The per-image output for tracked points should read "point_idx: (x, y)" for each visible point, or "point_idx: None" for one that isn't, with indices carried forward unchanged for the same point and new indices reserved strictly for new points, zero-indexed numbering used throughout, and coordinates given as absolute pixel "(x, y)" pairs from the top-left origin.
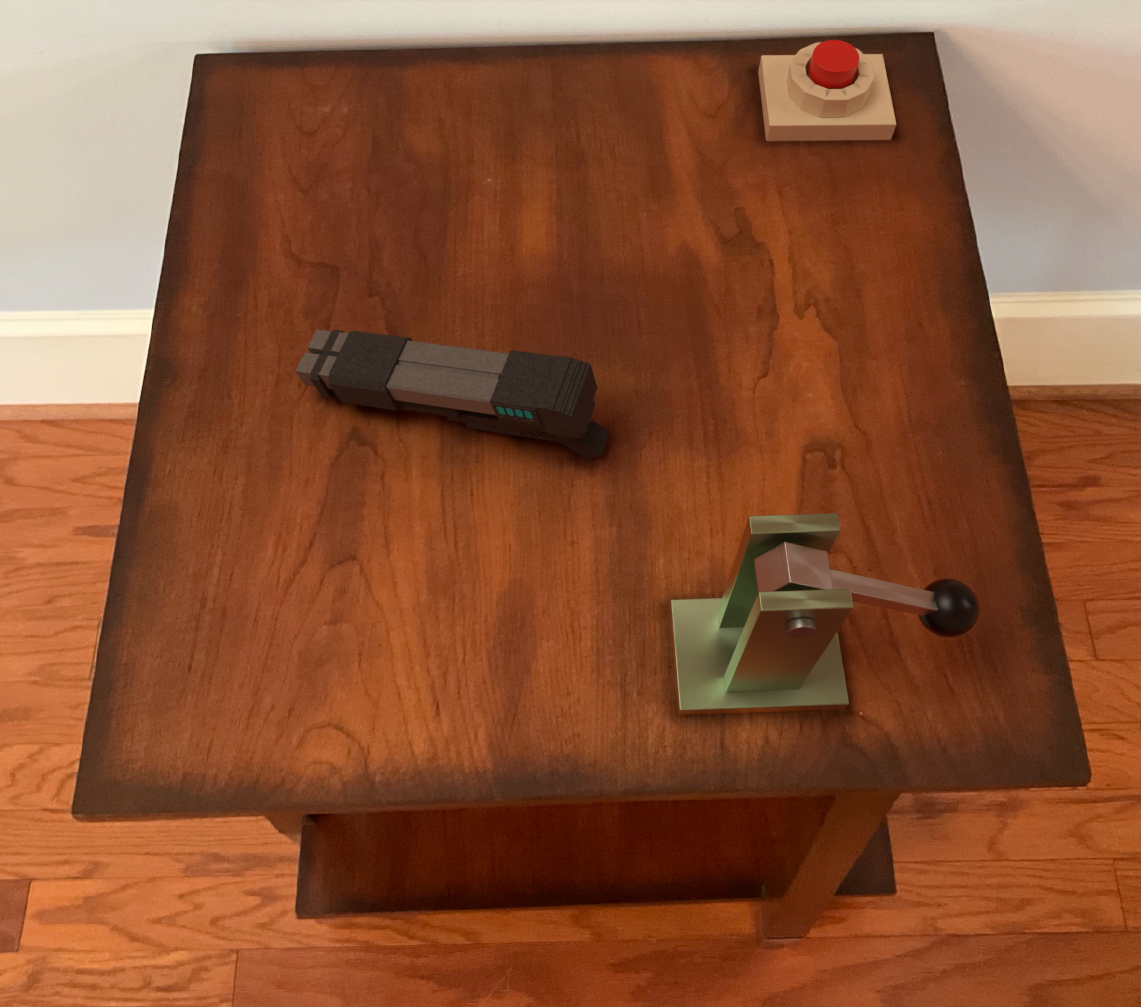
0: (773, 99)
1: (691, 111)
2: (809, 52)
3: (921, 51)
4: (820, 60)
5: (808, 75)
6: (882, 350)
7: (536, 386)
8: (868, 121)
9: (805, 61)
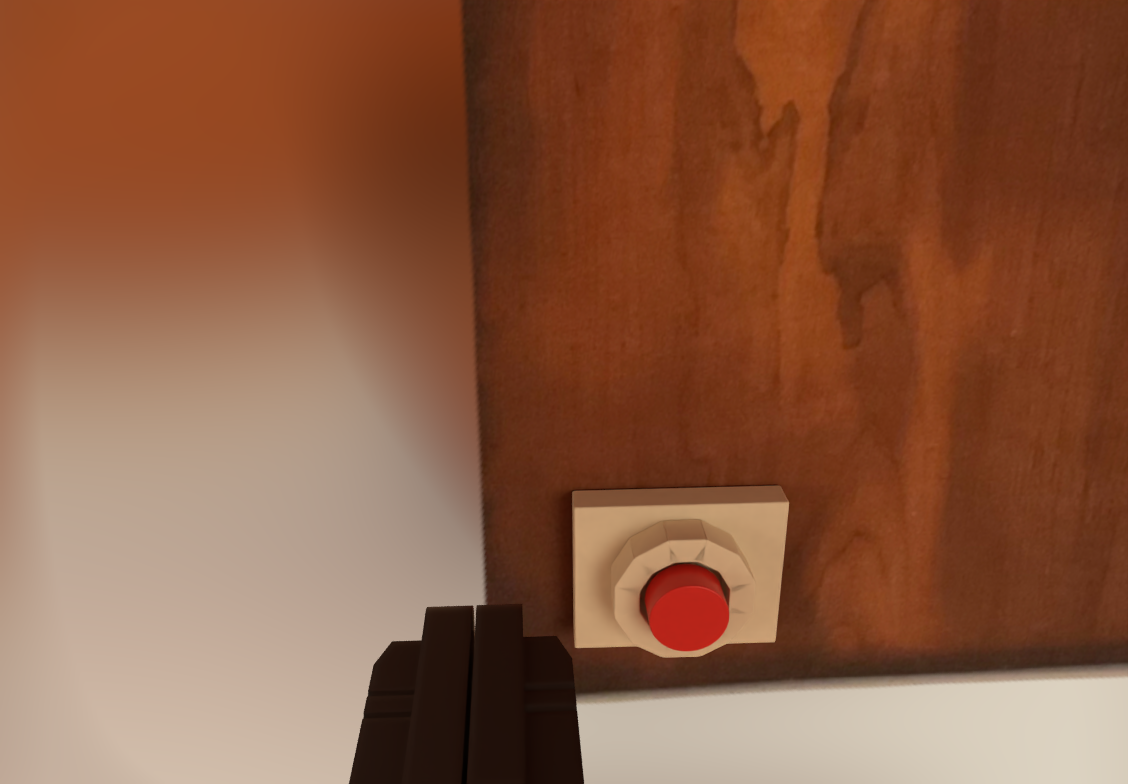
0: (772, 555)
1: (889, 543)
2: None
3: None
4: (718, 608)
5: None
6: (655, 28)
7: None
8: (621, 512)
9: None
